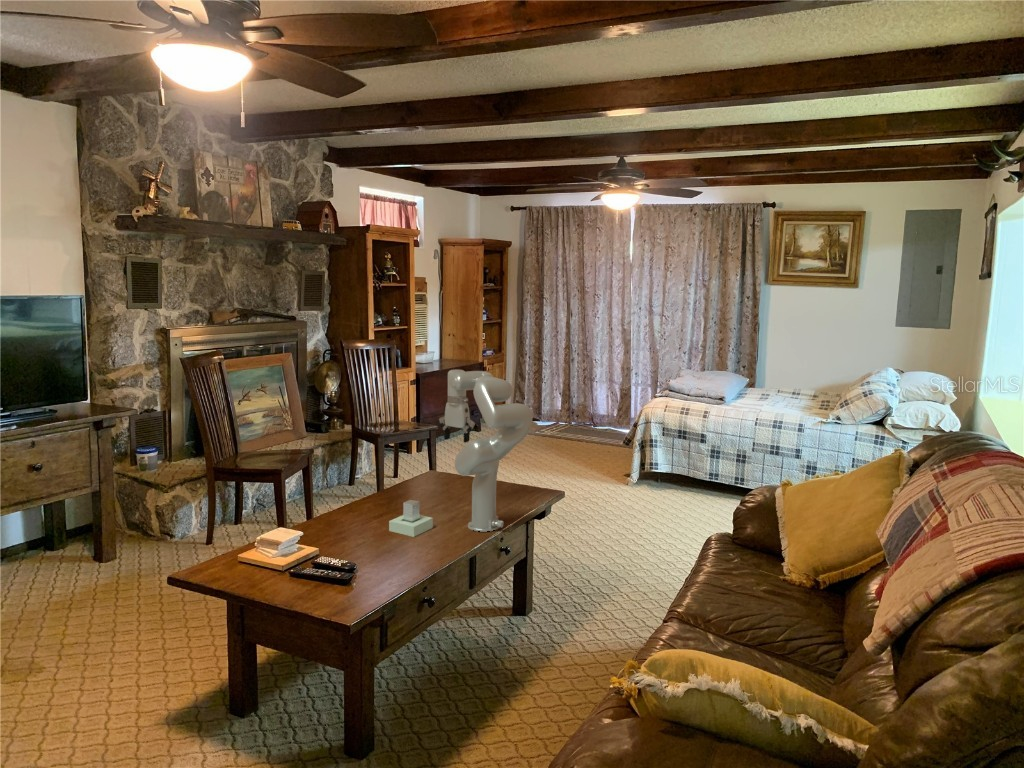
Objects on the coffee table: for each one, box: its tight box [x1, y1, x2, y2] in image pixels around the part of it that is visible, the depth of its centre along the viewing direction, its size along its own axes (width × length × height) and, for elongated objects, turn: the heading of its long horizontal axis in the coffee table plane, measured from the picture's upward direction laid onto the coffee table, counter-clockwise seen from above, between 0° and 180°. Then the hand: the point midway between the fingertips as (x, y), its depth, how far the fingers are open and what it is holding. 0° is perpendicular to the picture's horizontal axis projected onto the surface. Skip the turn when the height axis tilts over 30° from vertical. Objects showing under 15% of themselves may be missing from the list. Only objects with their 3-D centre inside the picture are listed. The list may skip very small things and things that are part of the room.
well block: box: [388, 514, 434, 538], centre depth 279 cm, size 12×12×4 cm
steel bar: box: [402, 499, 421, 523], centre depth 279 cm, size 4×4×11 cm
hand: (456, 440), depth 298 cm, fingers open, 9 cm apart
